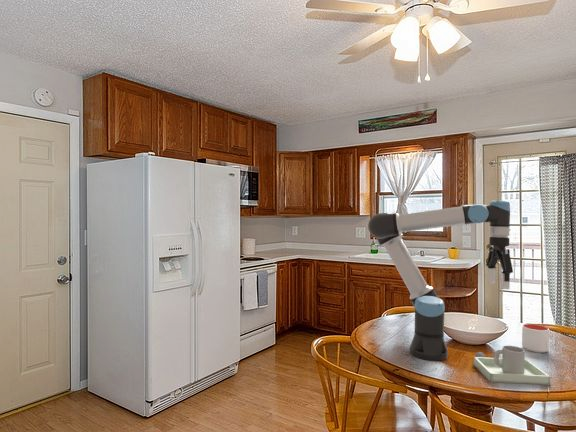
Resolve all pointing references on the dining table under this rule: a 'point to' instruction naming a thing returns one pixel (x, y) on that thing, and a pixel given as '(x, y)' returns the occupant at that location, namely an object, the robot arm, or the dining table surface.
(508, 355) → the cup
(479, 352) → the mixing ball
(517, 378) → the tray
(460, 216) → the robot arm
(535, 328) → the cup
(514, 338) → the dining table surface
